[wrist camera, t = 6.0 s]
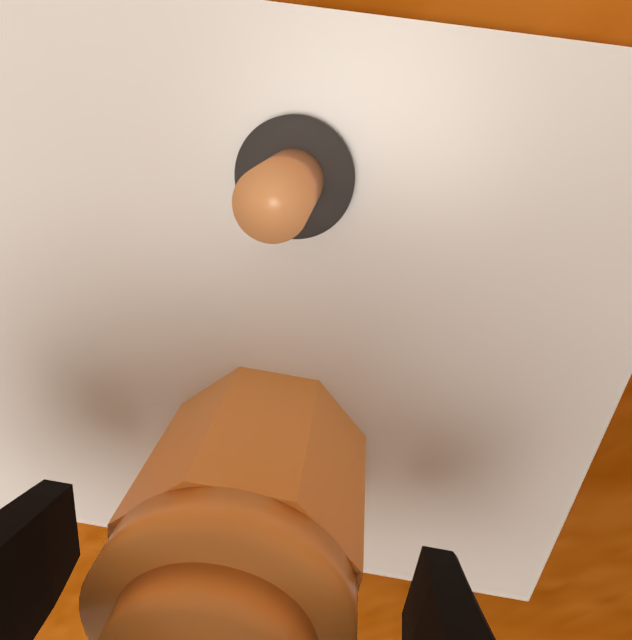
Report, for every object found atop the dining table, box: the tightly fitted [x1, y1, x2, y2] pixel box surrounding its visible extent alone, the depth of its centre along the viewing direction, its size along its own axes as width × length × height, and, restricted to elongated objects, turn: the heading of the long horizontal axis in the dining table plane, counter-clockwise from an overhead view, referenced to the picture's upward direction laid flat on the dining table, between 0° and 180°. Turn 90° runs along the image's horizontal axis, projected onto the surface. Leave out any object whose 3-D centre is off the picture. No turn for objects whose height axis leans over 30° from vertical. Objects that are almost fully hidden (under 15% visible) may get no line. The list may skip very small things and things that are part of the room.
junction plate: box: [0, 0, 632, 601], centre depth 11 cm, size 16×14×4 cm
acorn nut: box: [79, 366, 366, 640], centre depth 11 cm, size 5×5×6 cm
